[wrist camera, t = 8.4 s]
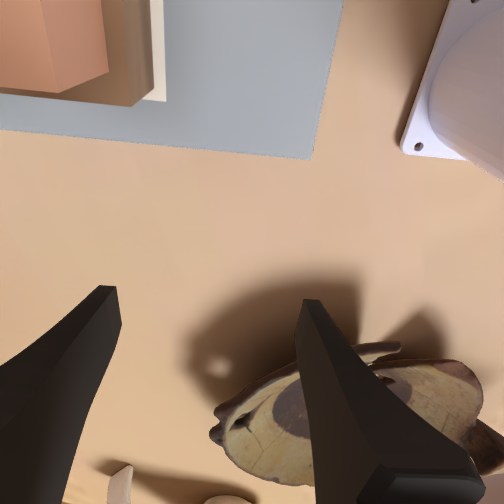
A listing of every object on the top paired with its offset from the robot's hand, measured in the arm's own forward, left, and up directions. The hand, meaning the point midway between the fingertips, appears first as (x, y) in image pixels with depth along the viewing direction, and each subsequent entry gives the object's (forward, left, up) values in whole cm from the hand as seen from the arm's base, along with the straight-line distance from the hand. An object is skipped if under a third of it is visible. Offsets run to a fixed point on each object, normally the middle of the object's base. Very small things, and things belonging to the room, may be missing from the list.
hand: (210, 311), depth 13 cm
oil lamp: (-15, +21, -11) cm, 28 cm away
